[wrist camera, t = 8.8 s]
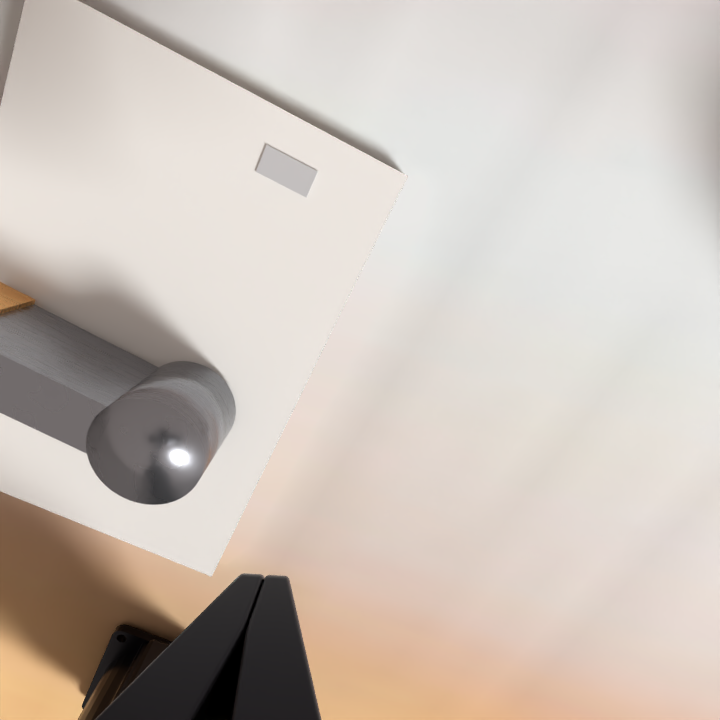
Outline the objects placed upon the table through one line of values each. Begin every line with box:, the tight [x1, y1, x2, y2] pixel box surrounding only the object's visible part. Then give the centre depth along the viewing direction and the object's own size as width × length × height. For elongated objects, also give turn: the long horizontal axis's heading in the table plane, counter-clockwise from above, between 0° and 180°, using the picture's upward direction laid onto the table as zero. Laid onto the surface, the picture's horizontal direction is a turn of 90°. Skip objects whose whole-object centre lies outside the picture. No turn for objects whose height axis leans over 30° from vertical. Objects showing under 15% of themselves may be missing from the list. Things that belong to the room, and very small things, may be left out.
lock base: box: [0, 0, 408, 577], centre depth 20 cm, size 20×14×1 cm
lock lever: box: [0, 282, 236, 505], centre depth 18 cm, size 10×4×4 cm, turn 61°
